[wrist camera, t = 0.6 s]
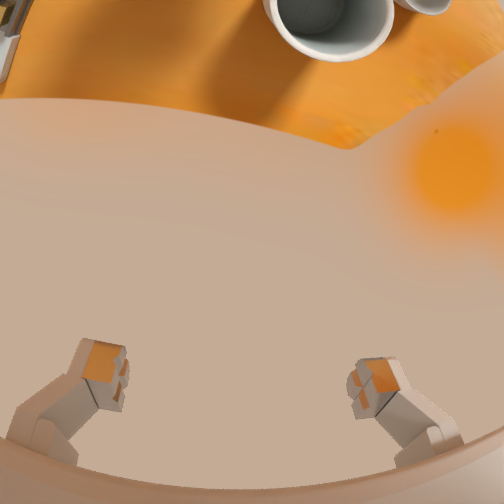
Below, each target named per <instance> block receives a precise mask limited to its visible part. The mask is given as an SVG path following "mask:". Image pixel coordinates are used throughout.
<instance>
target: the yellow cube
mask: <svg viewBox="0 0 504 504" xmlns="http://www.w3.org/2000/svg"><path fill="white" fill-rule="evenodd" d="M15 5H16V4H13V3H10V2H6V1H2V2H0V27H1V26H3V25H6V24H8V22H9V20H10V17H11V15H12V12H13V10H14V7H15Z"/></svg>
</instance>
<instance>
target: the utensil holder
mask: <svg viewBox="0 0 504 504" xmlns="http://www.w3.org/2000/svg"><path fill="white" fill-rule="evenodd" d="M263 6H264V10H265V12H266V14H267V16H268V18H269V19H270V21H271V22H272V24H273V25H274V26H275V27H276V29H277V31H278V32H279V33H280V35H281V36H282V37H283V38H284V39H285V41H286V42H287V43H288V44H290V45H291V46H292V47H293V48H295V49H296V50H298V51H299V52H301V53H303V54H305V55H307V56H309V57H311V58H314V59H317V60H321V61H326V62H349V61H353V60H357V59H360V58H363V57H365V56H367V55H369V54H371V53H372V52H374V51H375V50H376V49H377V48H379V47H380V46H381V45H382V43H383V42H384V41H385V40H386V38H387V37H388V35H389V33H390V30H391V28H392V25H393V20H394V3H393V0H263Z"/></svg>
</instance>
